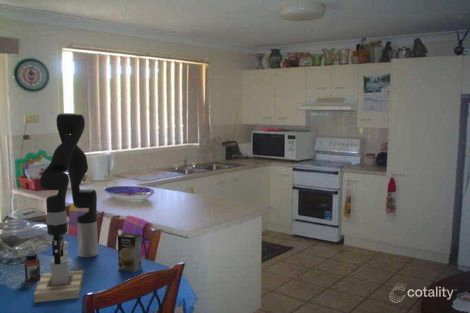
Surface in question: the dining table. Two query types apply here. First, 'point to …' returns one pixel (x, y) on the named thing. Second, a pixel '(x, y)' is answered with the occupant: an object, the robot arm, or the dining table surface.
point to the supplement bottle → (32, 267)
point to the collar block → (59, 288)
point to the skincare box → (59, 273)
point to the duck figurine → (64, 251)
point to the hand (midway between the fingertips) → (59, 260)
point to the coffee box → (129, 252)
